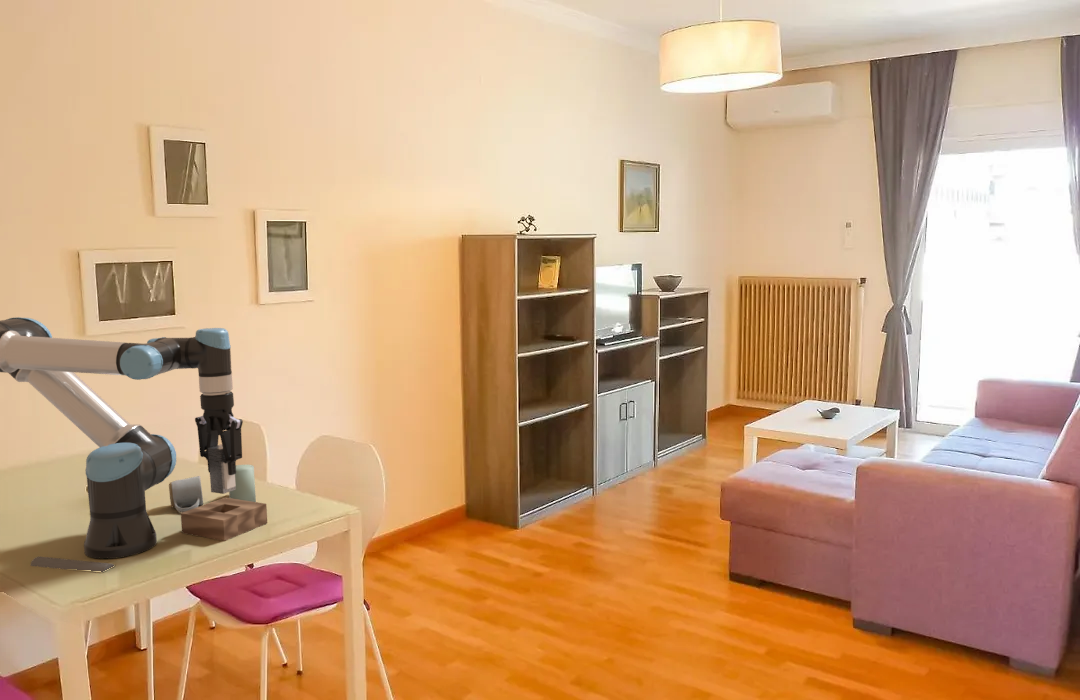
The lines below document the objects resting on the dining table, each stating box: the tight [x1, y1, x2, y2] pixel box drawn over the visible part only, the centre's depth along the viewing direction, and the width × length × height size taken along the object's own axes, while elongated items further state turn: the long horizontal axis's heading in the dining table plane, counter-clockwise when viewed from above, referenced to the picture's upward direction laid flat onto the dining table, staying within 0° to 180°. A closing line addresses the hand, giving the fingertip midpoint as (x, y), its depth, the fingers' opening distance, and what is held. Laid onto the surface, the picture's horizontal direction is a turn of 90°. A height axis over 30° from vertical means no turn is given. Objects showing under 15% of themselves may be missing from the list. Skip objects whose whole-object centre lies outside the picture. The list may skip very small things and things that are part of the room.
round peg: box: [228, 464, 257, 502], centre depth 229 cm, size 6×6×11 cm
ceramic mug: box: [168, 475, 204, 513], centre depth 231 cm, size 11×8×8 cm
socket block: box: [180, 497, 268, 542], centre depth 213 cm, size 14×14×5 cm
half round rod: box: [30, 556, 115, 573], centre depth 190 cm, size 4×20×2 cm, turn 74°
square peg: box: [208, 443, 236, 495], centre depth 212 cm, size 4×4×11 cm
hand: (223, 486), depth 212 cm, fingers closed on square peg, 4 cm apart
